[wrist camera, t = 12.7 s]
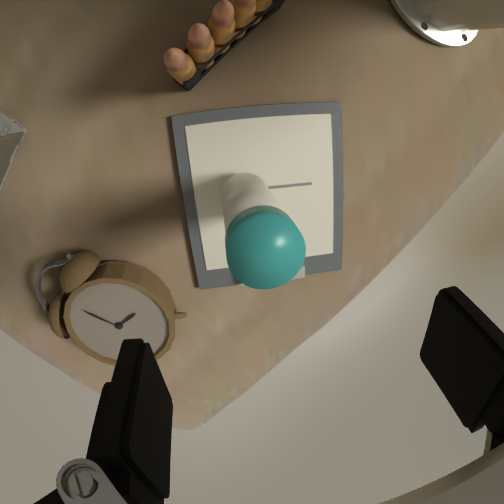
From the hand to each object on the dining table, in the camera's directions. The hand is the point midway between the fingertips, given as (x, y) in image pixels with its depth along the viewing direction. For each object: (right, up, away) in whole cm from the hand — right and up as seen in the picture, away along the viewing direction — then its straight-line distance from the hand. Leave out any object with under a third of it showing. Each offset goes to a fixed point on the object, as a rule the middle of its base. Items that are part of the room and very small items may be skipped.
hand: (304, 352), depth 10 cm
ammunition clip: (-4, +20, +12) cm, 24 cm away
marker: (-2, +8, +17) cm, 19 cm away
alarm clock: (-16, -2, +21) cm, 27 cm away
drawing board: (0, +8, +18) cm, 20 cm away
